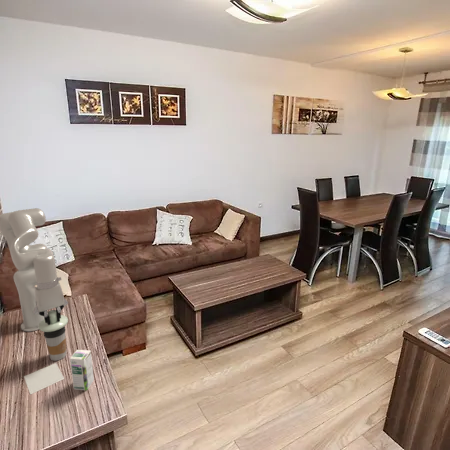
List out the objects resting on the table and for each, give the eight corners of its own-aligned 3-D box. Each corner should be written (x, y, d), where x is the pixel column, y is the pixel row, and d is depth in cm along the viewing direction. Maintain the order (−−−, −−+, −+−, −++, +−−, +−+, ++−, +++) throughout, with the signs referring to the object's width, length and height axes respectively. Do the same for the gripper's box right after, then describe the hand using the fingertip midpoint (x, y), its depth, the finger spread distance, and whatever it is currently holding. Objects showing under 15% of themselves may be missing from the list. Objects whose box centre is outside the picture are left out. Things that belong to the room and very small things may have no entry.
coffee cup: (60, 364, 131) (55, 335, 127) (43, 361, 133) (38, 332, 129) (73, 352, 139) (69, 323, 135) (57, 349, 140) (52, 321, 136)
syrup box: (73, 390, 118) (68, 358, 114) (81, 378, 124) (77, 348, 120) (87, 391, 118) (83, 360, 114) (94, 379, 124) (91, 349, 120)
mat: (23, 377, 124) (23, 376, 124) (56, 363, 132) (56, 362, 132) (30, 395, 115) (30, 394, 115) (64, 379, 123) (64, 378, 123)
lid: (36, 323, 131) (34, 311, 130) (63, 314, 139) (62, 302, 137) (42, 335, 124) (40, 322, 122) (71, 324, 131) (69, 312, 129)
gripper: (66, 274, 134) (70, 311, 139) (22, 285, 123) (29, 325, 128) (71, 280, 129) (76, 318, 134) (26, 292, 118) (33, 333, 123)
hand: (53, 321), depth 131 cm, fingers closed on lid, 3 cm apart
